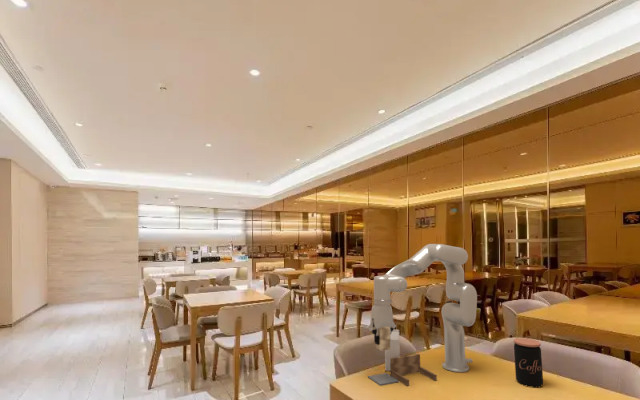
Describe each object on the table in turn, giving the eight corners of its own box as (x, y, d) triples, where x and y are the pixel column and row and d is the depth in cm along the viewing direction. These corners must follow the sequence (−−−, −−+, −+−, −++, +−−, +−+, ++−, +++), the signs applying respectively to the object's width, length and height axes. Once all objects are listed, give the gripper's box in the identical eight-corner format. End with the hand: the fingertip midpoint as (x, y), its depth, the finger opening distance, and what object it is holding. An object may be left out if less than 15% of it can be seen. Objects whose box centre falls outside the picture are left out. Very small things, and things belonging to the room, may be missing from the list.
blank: (384, 346, 164) (383, 324, 165) (390, 349, 159) (389, 326, 160) (375, 347, 162) (374, 325, 163) (380, 350, 157) (380, 327, 158)
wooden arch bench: (418, 371, 170) (418, 353, 171) (436, 380, 158) (436, 362, 159) (390, 375, 163) (390, 358, 164) (407, 386, 152) (406, 367, 153)
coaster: (386, 374, 165) (386, 373, 165) (398, 382, 156) (398, 380, 156) (368, 377, 161) (368, 376, 162) (379, 385, 152) (379, 384, 152)
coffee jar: (518, 385, 153) (515, 343, 155) (513, 377, 163) (511, 337, 165) (546, 389, 149) (543, 346, 151) (540, 380, 159) (537, 339, 161)
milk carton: (400, 372, 168) (399, 331, 171) (385, 370, 170) (384, 330, 172) (399, 366, 175) (398, 327, 178) (385, 365, 177) (384, 327, 179)
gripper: (392, 300, 169) (393, 339, 167) (362, 302, 163) (362, 343, 161) (401, 303, 163) (402, 343, 160) (370, 305, 156) (370, 347, 154)
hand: (382, 342), depth 161 cm, fingers closed on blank, 5 cm apart
